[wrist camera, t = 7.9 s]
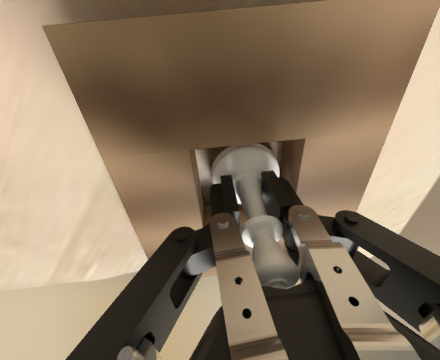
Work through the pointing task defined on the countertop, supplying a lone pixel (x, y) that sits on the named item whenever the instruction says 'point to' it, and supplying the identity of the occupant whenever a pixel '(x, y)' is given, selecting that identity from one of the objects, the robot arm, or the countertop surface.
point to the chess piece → (257, 212)
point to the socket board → (242, 98)
